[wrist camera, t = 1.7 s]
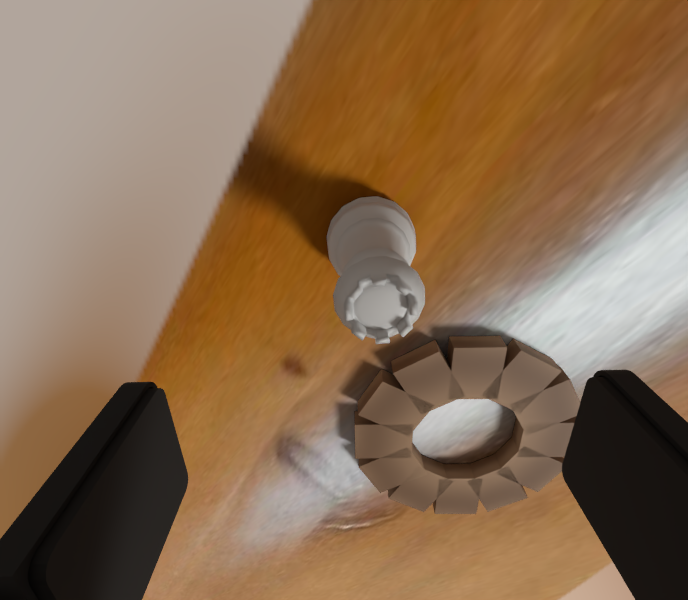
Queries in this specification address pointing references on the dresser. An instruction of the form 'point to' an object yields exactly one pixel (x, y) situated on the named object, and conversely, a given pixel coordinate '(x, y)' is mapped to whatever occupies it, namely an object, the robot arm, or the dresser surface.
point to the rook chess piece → (375, 269)
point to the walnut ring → (465, 383)
